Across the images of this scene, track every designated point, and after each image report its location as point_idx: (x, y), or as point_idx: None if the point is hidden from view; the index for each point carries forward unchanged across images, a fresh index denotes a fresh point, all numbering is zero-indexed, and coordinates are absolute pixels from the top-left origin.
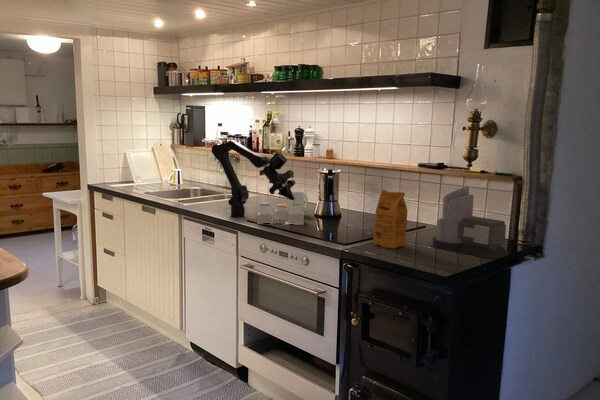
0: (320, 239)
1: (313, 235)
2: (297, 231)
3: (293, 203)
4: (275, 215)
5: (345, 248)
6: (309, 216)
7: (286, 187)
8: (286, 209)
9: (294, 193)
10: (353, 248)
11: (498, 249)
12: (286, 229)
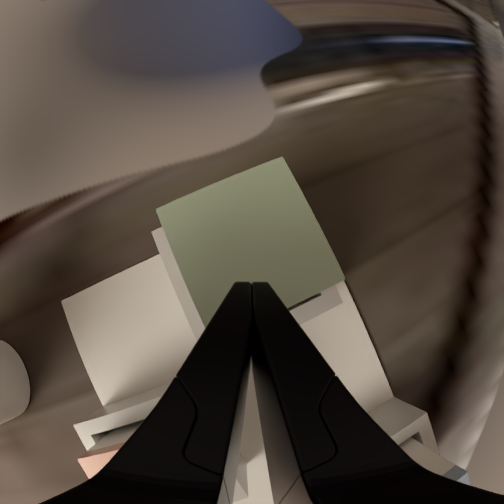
0: (484, 66)
1: (467, 88)
2: (465, 162)
3: (328, 260)
4: (242, 473)
5: (488, 22)
6: (3, 288)
7: (486, 497)
8: (116, 436)
9: None
10: (475, 9)
11: None
12: (467, 231)
